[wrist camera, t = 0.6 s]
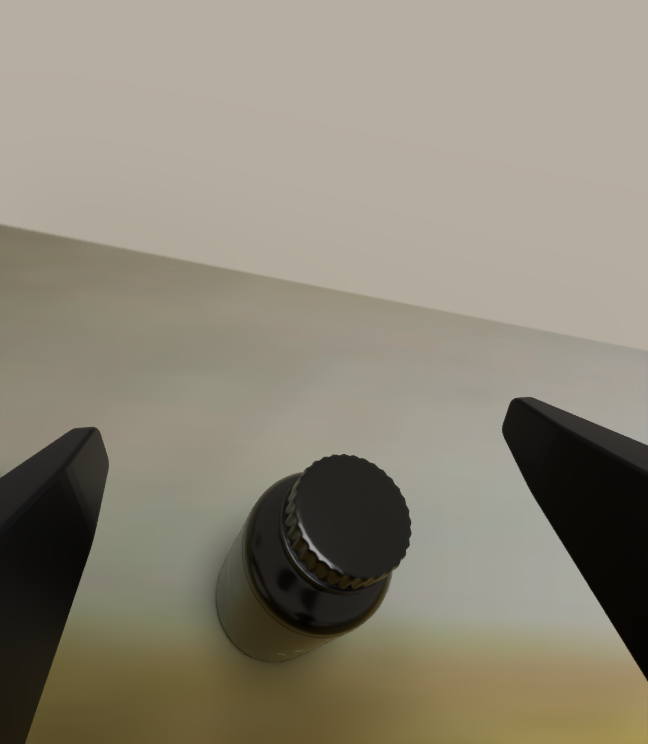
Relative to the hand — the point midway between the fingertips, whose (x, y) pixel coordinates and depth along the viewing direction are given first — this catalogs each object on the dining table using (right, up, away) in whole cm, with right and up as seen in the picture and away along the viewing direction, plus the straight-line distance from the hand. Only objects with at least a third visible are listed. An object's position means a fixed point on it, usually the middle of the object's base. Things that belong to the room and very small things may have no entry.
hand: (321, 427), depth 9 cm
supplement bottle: (-3, -12, +15) cm, 19 cm away
